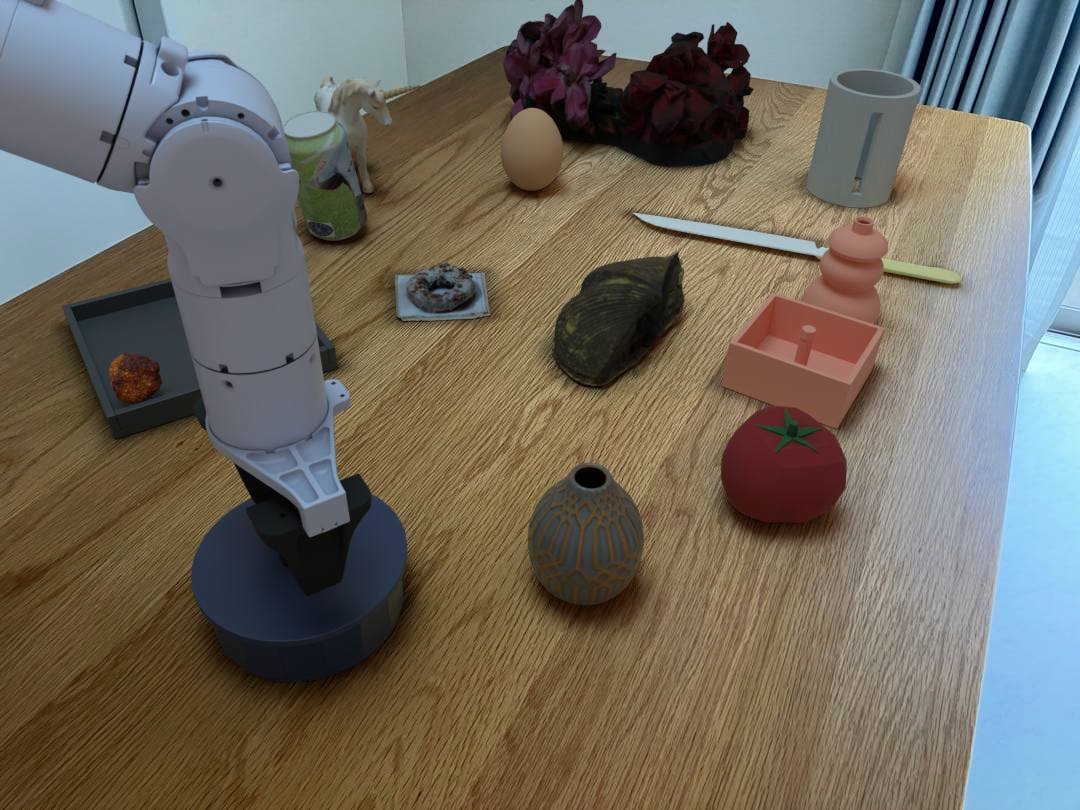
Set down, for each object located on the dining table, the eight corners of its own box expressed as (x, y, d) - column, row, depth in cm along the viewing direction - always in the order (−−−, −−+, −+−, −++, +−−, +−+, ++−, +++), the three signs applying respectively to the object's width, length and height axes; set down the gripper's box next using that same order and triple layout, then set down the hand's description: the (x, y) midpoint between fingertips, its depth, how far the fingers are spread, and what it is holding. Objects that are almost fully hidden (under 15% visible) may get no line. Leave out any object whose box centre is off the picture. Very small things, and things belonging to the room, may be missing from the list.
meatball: (123, 420, 65) (108, 376, 63) (113, 393, 68) (98, 350, 65) (173, 405, 67) (160, 362, 64) (162, 379, 69) (149, 337, 67)
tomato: (852, 530, 59) (880, 448, 55) (743, 554, 57) (763, 472, 53) (792, 452, 65) (813, 373, 60) (692, 472, 63) (706, 392, 59)
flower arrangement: (749, 120, 116) (770, -2, 107) (737, 181, 101) (760, 46, 92) (520, 93, 122) (521, -25, 113) (476, 148, 107) (473, 17, 98)
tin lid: (233, 692, 45) (214, 635, 42) (170, 540, 53) (150, 484, 50) (444, 593, 50) (440, 537, 47) (358, 469, 58) (350, 415, 55)
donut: (394, 322, 77) (393, 302, 76) (395, 276, 83) (394, 257, 82) (490, 318, 78) (490, 298, 77) (484, 273, 84) (484, 254, 83)
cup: (858, 168, 105) (885, 65, 98) (906, 201, 98) (939, 93, 91) (791, 177, 103) (813, 72, 95) (835, 212, 96) (863, 101, 88)
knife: (635, 204, 95) (624, 215, 91) (961, 262, 87) (965, 276, 83) (634, 216, 96) (623, 227, 92) (957, 274, 87) (961, 289, 83)
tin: (250, 716, 47) (237, 674, 45) (192, 579, 55) (178, 536, 52) (434, 627, 52) (431, 585, 50) (359, 512, 59) (352, 470, 57)
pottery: (837, 429, 67) (870, 319, 61) (721, 386, 71) (741, 279, 65) (900, 321, 79) (934, 221, 73) (799, 289, 83) (822, 192, 77)
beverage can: (380, 228, 91) (369, 112, 83) (330, 257, 86) (313, 137, 78) (334, 212, 93) (319, 98, 86) (283, 239, 88) (262, 121, 81)
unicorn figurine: (369, 228, 90) (355, 98, 82) (288, 163, 102) (269, 43, 94) (430, 211, 94) (422, 83, 86) (345, 149, 106) (331, 33, 98)
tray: (114, 439, 64) (106, 417, 63) (69, 326, 76) (61, 305, 74) (338, 368, 72) (334, 346, 70) (266, 274, 83) (262, 254, 82)
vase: (580, 521, 59) (587, 420, 54) (660, 580, 55) (677, 478, 50) (503, 577, 55) (503, 474, 50) (584, 644, 51) (593, 540, 46)
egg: (550, 206, 95) (553, 124, 90) (491, 196, 97) (491, 115, 92) (569, 181, 101) (572, 102, 95) (513, 171, 102) (513, 94, 97)
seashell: (629, 399, 69) (616, 319, 65) (532, 383, 74) (515, 308, 70) (710, 301, 80) (703, 228, 76) (621, 293, 84) (611, 224, 81)
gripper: (400, 393, 38) (418, 596, 47) (282, 251, 48) (316, 442, 56) (238, 449, 35) (289, 655, 44) (147, 285, 45) (204, 481, 53)
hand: (296, 539), depth 50 cm, fingers open, 7 cm apart
